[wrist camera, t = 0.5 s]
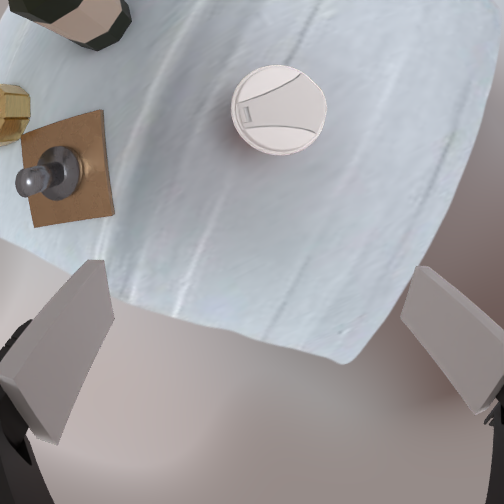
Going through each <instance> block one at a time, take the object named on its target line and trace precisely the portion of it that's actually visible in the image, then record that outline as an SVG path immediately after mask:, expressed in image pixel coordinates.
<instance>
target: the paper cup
mask: <svg viewBox="0 0 504 504" xmlns="http://www.w3.org/2000/svg"><path fill="white" fill-rule="evenodd" d="M326 112H327V104H326V100H325V96H324V94H323V92H322V90H321V88H320V87H319V86H318V85H317V84H316V83H315V82H314V81H313V80H312V79H311V78H310V77H308V76H307V75H306V74H304V73H303V72H301V71H299V70H297V69H295V68H292V67H288V66H284V65H270V66H265V67H261V68H259V69H256V70H254V71H252V72H251V73H249V74H248V75H247V76H245V77H244V78H243V79H242V80H241V82H240V83H239V84H238V86H237V88H236V89H235V91H234V94H233V97H232V102H231V115H232V120H233V123H234V126H235V128H236V130H237V131H238V133H239V134H240V136H241V137H242V138H243V139H244V140H245V141H246V142H247V143H248V144H249V145H250V146H252V147H253V148H255V149H257V150H259V151H261V152H264V153H267V154H272V155H289V154H293V153H297V152H299V151H301V150H303V149H305V148H306V147H308V146H309V145H311V144H312V143H313V142H314V141H315V140H316V138H317V137H318V136H319V134H320V132H321V130H322V128H323V125H324V123H325V117H326Z"/></svg>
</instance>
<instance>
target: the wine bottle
mask: <svg viewBox="0 0 504 504" xmlns="http://www.w3.org/2000/svg"><path fill="white" fill-rule="evenodd" d="M8 1H9V6H10V11H11V12H13V13H16V14H18V15H20V16H22V17H24V18H27V19H29V20H31V21H33V22H35V23H37V24H39V25H41V26H43V27H45V28H47V29H49V30H51V31H53V32H55V33H57V34H59V35H61V36H63V37H65V38H67V39H69V40H71V41H73V42H74V43H76V44H78V45H80V46H82V47H86V48H89V49H92V50H96V51H99V50H101V49H103V48H105V47H107V46H109V45H111V44H113V43H116V42H118V41H119V40H120V39H121V37H122V36H123V34H124V32H125V31H126V29H127V28H128V26H129V25H130V24H131V22H132V20H131V16H130V11H129V7H128V5H127V3H126V2H125V1H124V0H8Z"/></svg>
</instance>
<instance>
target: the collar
mask: <svg viewBox="0 0 504 504" xmlns="http://www.w3.org/2000/svg"><path fill="white" fill-rule="evenodd" d="M28 96H29V94H28V93H27V92H25V91H24V90H23V89H22V88H21V87H20V86H14V85H7V84H0V146H5V145H8V144H10V143H13V142H15V141H18V140H19V138H21V135H22V134H23V132H24V130H25V128H26V126H27V124H28V122H29V119H28V118H29V117H30V97H28Z"/></svg>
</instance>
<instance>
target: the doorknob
mask: <svg viewBox="0 0 504 504" xmlns="http://www.w3.org/2000/svg"><path fill="white" fill-rule="evenodd" d="M21 146H22V157H23V166H24V169H22V170H20V171H19V172H18V174H17V176H16V181H15V185H16V189H17V192H18V193H19V194H20V195H21V196H22V197H28V200H29V205H30V210H31V215H32V220H33V225H34V228H36V227H42V226H48V225H54V224H60V223H66V222H72V221H79V220H85V219H92V218H99V217H106V216H112V215H114V214H115V212H114V206H113V199H112V193H111V186H110V178H109V171H108V162H107V153H106V142H105V130H104V115H103V110H96V111H93V112H89V113H85V114H82V115H78V116H75V117H72V118H68V119H65V120H62V121H59V122H56V123H53V124H50V125H47V126H44V127H41V128H39V129H36V130H33V131H31V132H28V133H25V134H23V135H21Z"/></svg>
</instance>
